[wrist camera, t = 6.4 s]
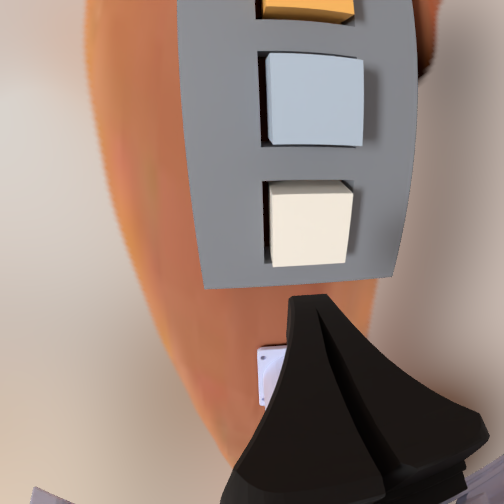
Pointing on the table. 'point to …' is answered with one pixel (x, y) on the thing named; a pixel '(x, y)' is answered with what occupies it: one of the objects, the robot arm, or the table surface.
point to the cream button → (308, 221)
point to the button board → (293, 155)
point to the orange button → (308, 10)
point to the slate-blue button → (314, 99)
